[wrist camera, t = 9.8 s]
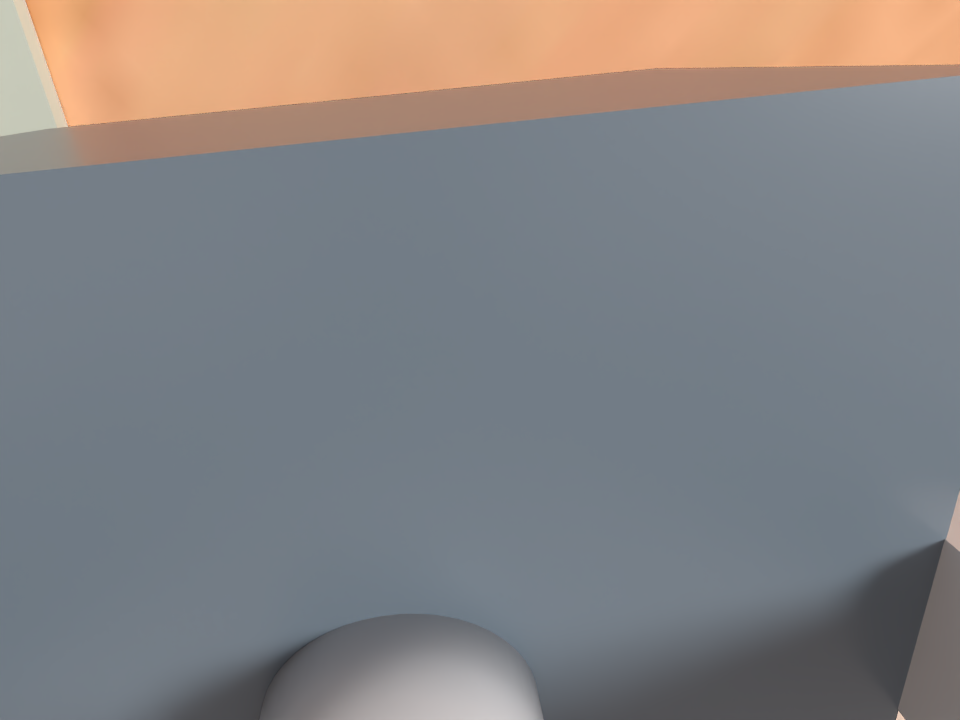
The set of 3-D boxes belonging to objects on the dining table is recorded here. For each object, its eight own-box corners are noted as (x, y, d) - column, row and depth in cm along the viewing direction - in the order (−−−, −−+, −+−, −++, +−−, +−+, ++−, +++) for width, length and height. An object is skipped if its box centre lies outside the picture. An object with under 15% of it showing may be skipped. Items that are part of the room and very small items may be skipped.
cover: (47, 128, 12) (-1188, 327, 3) (655, 68, 13) (1341, 59, 4) (212, 596, 17) (-19, 1236, 8) (643, 532, 18) (912, 1045, 9)
